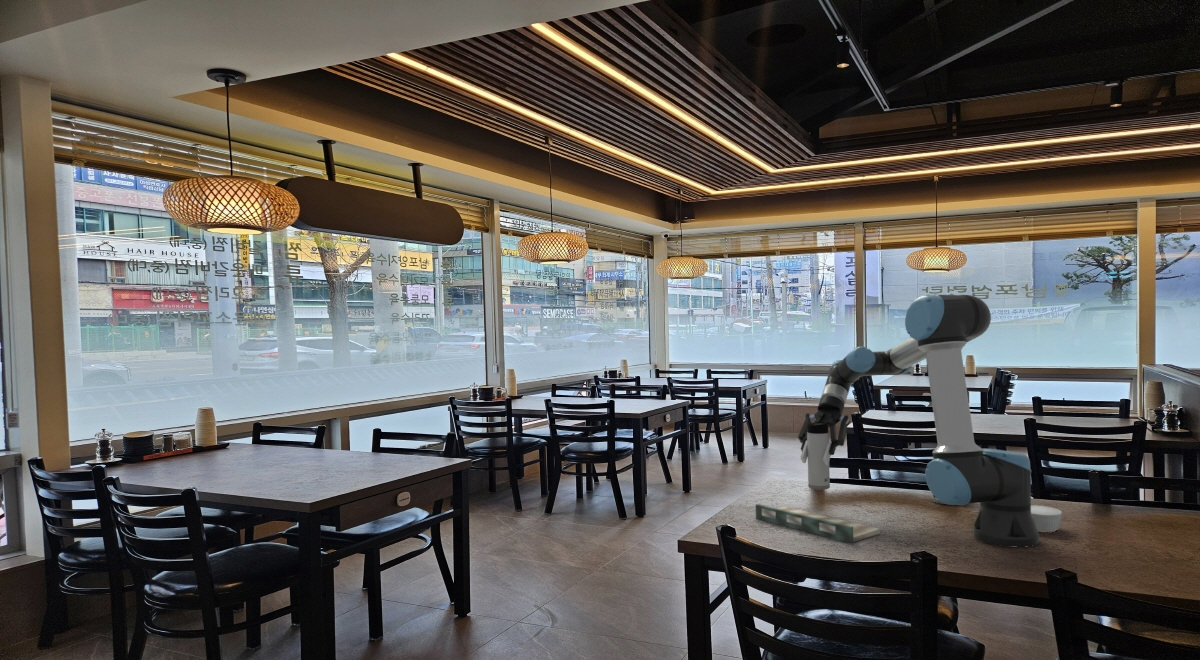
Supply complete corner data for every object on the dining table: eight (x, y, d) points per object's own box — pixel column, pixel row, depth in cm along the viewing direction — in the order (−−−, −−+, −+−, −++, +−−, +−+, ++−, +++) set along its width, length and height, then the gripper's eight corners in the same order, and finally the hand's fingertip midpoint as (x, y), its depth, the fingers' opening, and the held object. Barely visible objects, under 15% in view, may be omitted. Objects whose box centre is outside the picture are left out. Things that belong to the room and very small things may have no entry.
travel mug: (832, 489, 218) (831, 422, 218) (809, 489, 219) (808, 422, 219) (829, 485, 224) (827, 420, 224) (807, 485, 226) (805, 420, 226)
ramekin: (1015, 521, 208) (1015, 502, 208) (1061, 526, 203) (1061, 507, 203) (1014, 531, 199) (1014, 511, 199) (1063, 536, 193) (1062, 516, 193)
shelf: (879, 533, 199) (879, 518, 199) (850, 542, 191) (850, 527, 191) (784, 510, 224) (784, 497, 224) (755, 518, 216) (755, 504, 216)
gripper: (866, 410, 228) (849, 472, 215) (806, 408, 240) (787, 466, 227) (860, 395, 224) (842, 456, 211) (800, 393, 236) (779, 451, 223)
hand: (814, 461), depth 219 cm, fingers closed on travel mug, 6 cm apart
